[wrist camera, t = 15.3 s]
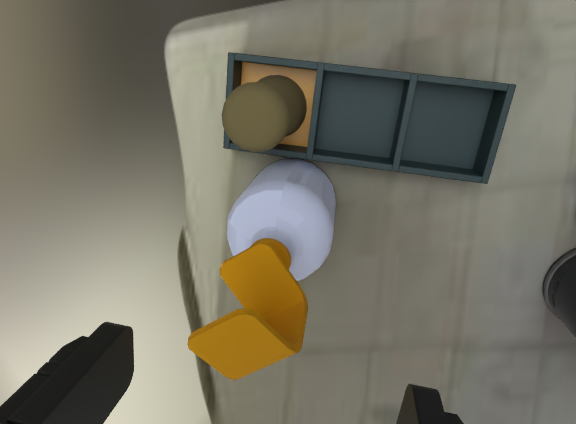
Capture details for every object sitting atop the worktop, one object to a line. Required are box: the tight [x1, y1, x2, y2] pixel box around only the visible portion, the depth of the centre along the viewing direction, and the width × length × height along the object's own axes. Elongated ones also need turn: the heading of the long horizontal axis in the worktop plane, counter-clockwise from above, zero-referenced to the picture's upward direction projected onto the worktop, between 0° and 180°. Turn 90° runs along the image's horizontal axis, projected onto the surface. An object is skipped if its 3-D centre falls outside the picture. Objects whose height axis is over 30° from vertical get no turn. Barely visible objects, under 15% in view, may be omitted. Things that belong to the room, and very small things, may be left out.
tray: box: [223, 52, 516, 184], centre depth 37 cm, size 25×9×3 cm, turn 84°
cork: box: [222, 75, 307, 152], centre depth 34 cm, size 6×6×11 cm
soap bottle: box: [188, 159, 336, 380], centre depth 31 cm, size 9×9×25 cm
